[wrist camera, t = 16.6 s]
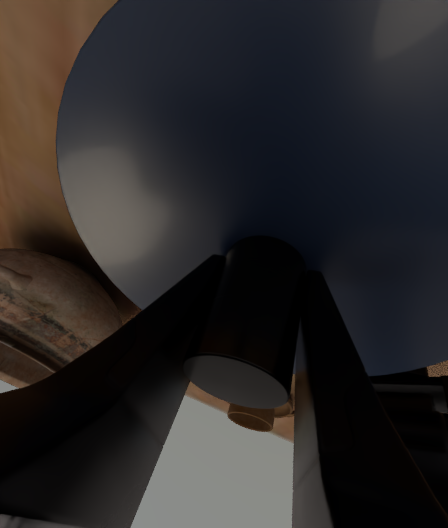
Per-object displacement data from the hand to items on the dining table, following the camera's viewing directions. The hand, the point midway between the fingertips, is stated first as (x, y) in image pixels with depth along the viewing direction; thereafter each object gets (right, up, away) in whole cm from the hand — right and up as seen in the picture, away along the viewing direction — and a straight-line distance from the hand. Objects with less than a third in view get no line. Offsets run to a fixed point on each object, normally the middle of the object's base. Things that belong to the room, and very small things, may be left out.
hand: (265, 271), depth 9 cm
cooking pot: (-20, -1, +28) cm, 35 cm away
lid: (0, +1, 0) cm, 1 cm away
